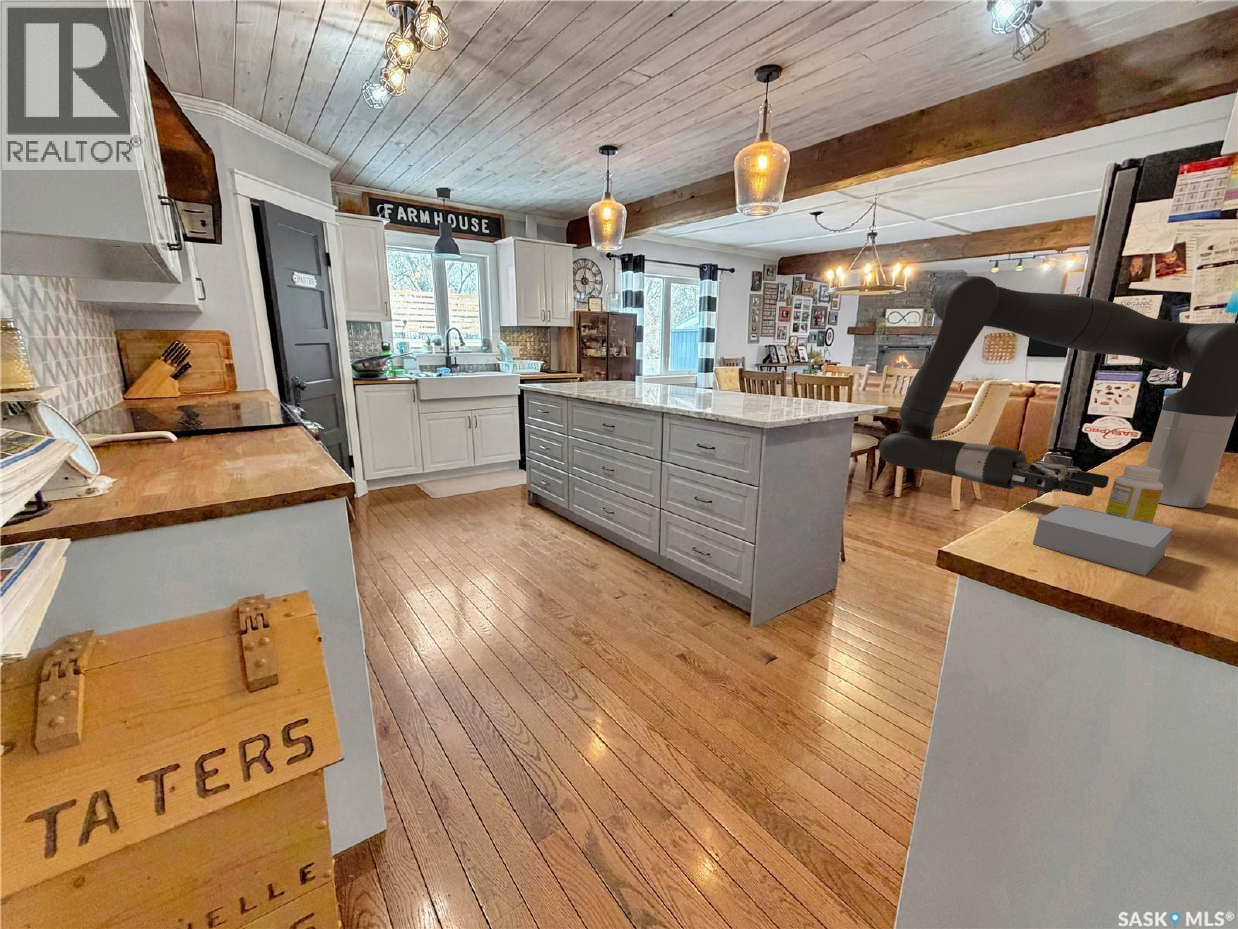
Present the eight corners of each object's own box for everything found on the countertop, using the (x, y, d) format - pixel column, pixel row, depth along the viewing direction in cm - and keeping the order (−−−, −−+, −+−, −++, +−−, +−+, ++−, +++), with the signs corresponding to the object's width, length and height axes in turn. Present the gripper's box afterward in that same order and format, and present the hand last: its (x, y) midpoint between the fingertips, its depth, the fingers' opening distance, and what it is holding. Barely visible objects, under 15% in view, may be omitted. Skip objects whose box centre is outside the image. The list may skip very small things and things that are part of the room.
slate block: (1059, 528, 82) (1065, 504, 81) (1164, 555, 72) (1173, 529, 71) (1032, 544, 75) (1038, 518, 74) (1144, 576, 65) (1154, 547, 64)
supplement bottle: (1151, 529, 82) (1170, 469, 79) (1147, 537, 79) (1166, 474, 76) (1105, 519, 86) (1121, 461, 84) (1099, 526, 83) (1116, 466, 80)
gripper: (977, 450, 92) (1093, 470, 79) (1007, 442, 100) (1118, 459, 87) (969, 489, 94) (1081, 515, 81) (999, 478, 102) (1106, 500, 89)
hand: (1100, 486), depth 84 cm, fingers open, 8 cm apart
